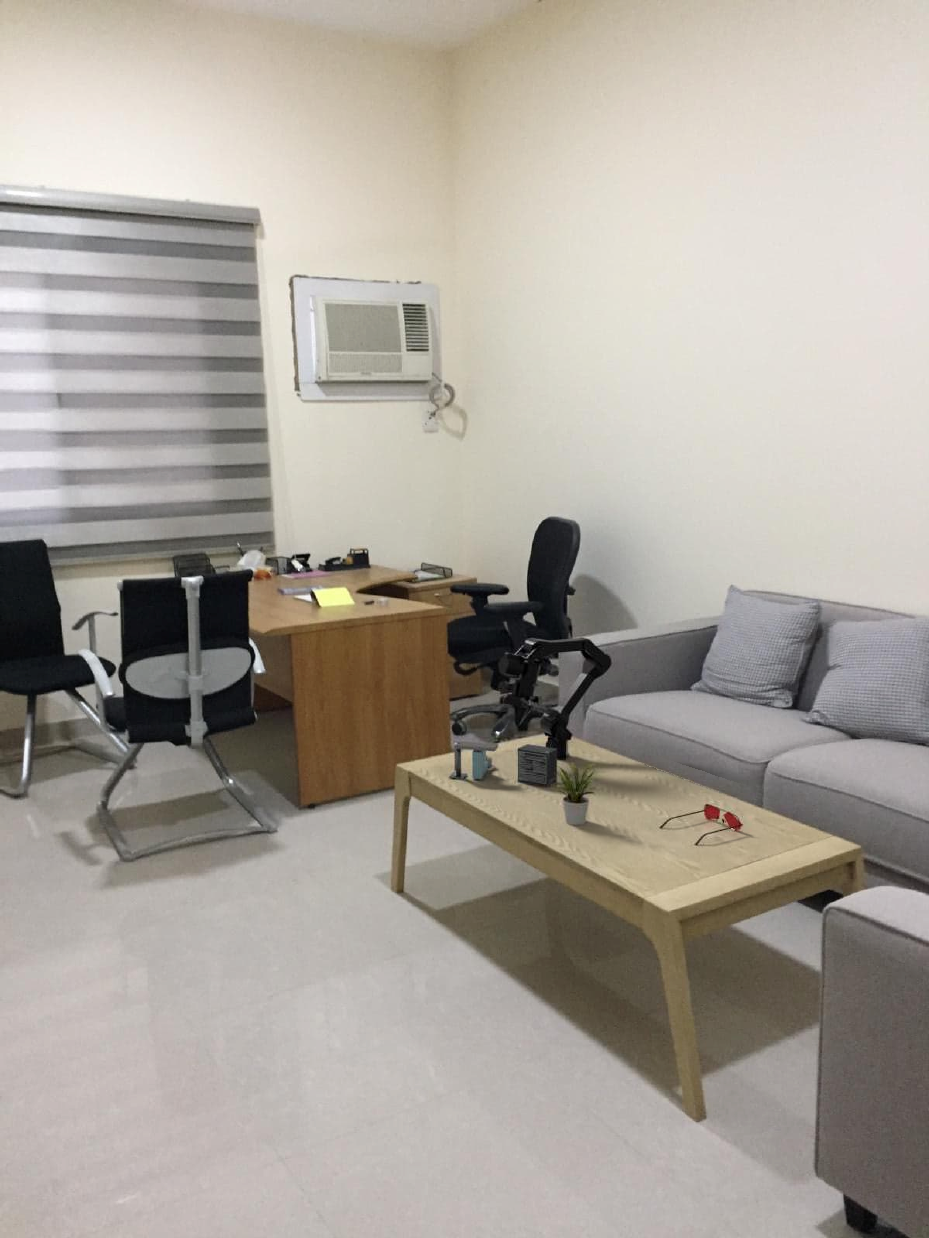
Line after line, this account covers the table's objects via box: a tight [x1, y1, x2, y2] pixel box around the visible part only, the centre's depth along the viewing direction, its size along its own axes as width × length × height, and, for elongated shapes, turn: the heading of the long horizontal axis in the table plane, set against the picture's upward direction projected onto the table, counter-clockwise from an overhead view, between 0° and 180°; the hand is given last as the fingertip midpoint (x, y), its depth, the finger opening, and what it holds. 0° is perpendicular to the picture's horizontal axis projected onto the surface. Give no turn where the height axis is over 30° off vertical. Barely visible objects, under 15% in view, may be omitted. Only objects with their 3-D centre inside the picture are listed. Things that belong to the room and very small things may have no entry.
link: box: [471, 750, 493, 780], centre depth 310 cm, size 15×5×8 cm, turn 169°
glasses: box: [658, 803, 744, 846], centre depth 261 cm, size 14×16×5 cm
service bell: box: [486, 754, 496, 771], centre depth 316 cm, size 7×7×4 cm
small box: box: [517, 744, 558, 788], centre depth 301 cm, size 11×6×10 cm, turn 58°
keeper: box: [448, 740, 499, 780], centre depth 305 cm, size 14×5×11 cm, turn 74°
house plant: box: [554, 761, 604, 826], centre depth 267 cm, size 14×14×16 cm
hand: (517, 725), depth 319 cm, fingers closed
